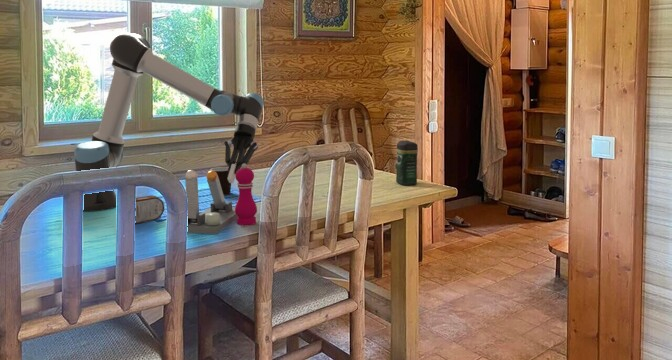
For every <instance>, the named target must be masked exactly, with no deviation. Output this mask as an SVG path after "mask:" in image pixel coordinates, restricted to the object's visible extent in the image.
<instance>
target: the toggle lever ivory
mask: <svg viewBox="0 0 672 360" xmlns="http://www.w3.org/2000/svg"><path fill="white" fill-rule="evenodd" d="M184 177H185V178H184V179H185V180H184V181H185V182H184V183H185V195H186V194H187V198H188V223H197V216H198V215H199V214H200V204H199V203H200V200H199V199H200V198H199V185H198V184H199V182H198V181H199V180H198V174H197V172H196V171H195V170H193V169H189V170H187V171H185V176H184Z"/></svg>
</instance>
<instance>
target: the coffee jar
mask: <svg viewBox="0 0 672 360" xmlns="http://www.w3.org/2000/svg"><path fill="white" fill-rule="evenodd" d="M418 147H419V146H418V144H417V143H416V142H414V141H411V140H399V141H398V142H397V143H396V173H395V174H396V175H395V176H396V179H395V181H396V183H397V184H399V185H402V186H414V185H417V183H418Z"/></svg>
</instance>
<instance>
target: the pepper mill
mask: <svg viewBox="0 0 672 360" xmlns="http://www.w3.org/2000/svg"><path fill="white" fill-rule="evenodd" d="M254 179H255V174H254V171H253V170H252V169H251V168H248V163H247V164H245V163H244V164H242V167H241V168H240V169H239V170H238V171H237V172H236V176H235V180H236V182H237V188H238V199H237V201H236V204H235V213H236V215H237V216H238V218H237V219H236V225H239V226H252V225H255V224H256V223H257V219H256V218H257V217H256V216H255V215H256V214H257V213H258V207H257V204H256V202H255V200H254V197H253V192H252V191H253V190H252V189H253V187H254V185H253V184H254V183H253V181H254Z"/></svg>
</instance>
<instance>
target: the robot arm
mask: <svg viewBox="0 0 672 360" xmlns="http://www.w3.org/2000/svg"><path fill="white" fill-rule="evenodd" d="M109 52H110V55H111V57H112V63H111V67H112V68H113V70H114V71H113V75H112V80H111V83H110V86H109V90H108V94H107V98H106V100H105V104H104V107H103V108H104V109H103V113H102V116H101V120H100V124H99V128H98V130H97V131H95V132H94V133H92V137H91V140H90V141H85V142H80V143H79V144H76V146H75V147H74V153H73V158H74V164H75V165H74V166H75V172H76V171H81V170H90V169H100V168H109V167H116V168H117V167H119V166H120V164H121V162H122V160H123V158H124V150H123V149H124V145H125V140H124V139H123V133H124V129H125V126H126V122H127V118H128V116H129V112H130V108H131V105H132V100H133V97H134V94H135V89H136V86H137V81H138V78H139V77H141V76H143V75H144V74H146V75H147V76H149V77H151V78H153V79H154V80H157V81H158V82H160V83H162V84H164V85H166V86H168V87H169V88H171V89H173V90H175V91H177V92H178V93H179V94H182V95H184V96H186V97H188V98H190V99H192V100H193V101H195V102H197V103H198V104H200V105H202V106H204V107H205V108H207V109H209V110H211V111H212V112H213V113H214V114H216V116H221V117H225V116H228V115H230V114H231V115H236V116H238V120H237V122H236V126H235V129H234V132H233V137H232V138H231V139H230V140H229V141H227V140H225V141H224V146H225V158H224V159H225V161H224V162H225V164H226V165H227V166H228V167H229V168H228V173H229V175H228V178H227V179H228V181H229V183H231V184H234V182H235V180H236V177H235V176H236V172H237V171H238V170H239V169H241V168H242V164H244V163H245V164H247V165H248V163H249V161H250V160H251V158H252V156H253V155H254V154H255V151H257V150H258V148H259V146H258V143H257V142H256V141H254V138H255V135H256V131H257V128H258V125H259V122H260V117H261V114H262V111H263V107H264V99H263V97H262V96H261V95H259V94H258V93H254V92H252V93H251V92H249V93H248V94H246V95H245V96H241V95H238V94H235V93H231V92H227V91H225V90H222V89H217V88H215V87H213V86H211V85H210V84H208V83H206V82H204V81H203V80H201V79H199V78H198V77H195V76H194V75H192V74H190V73H189V72H187V71H185V70H183V69H181V68H180V67H178V66H176V65H174V64H172V63H171V62H169V61H167V60H165V59H164V58H162V57H160V56H159V55H157V54H155V53H153V50H152V46H151V44H150V42H149V41H148V39H146V38H145V37H144V36H143V35H140V34H139V33H134V32H133V33H131V32H130V33H129V32H122V33H118V34H117V35H116V36H114V37H113V38H112V40H111V42H110V45H109ZM232 145H233V151H232V150H231V148H232ZM227 166H226V167H227ZM116 196H117V194H116V191H115V189H114V190H113V191H105V192H99V193H92V194H85V195H84V211H83V212H99V211H106V210H111V209H115V208H116V207H117V206H116Z"/></svg>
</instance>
